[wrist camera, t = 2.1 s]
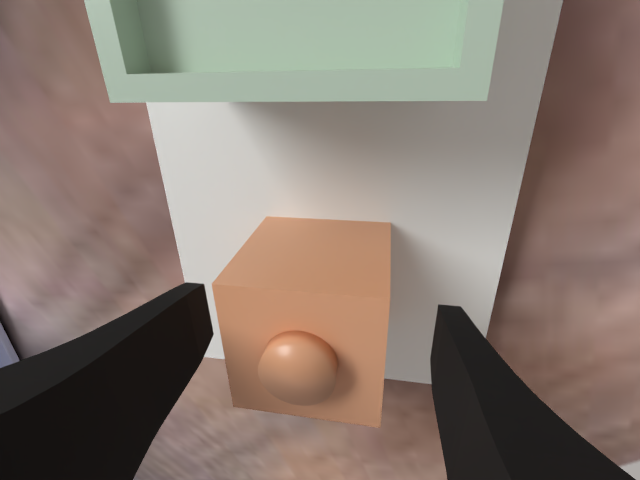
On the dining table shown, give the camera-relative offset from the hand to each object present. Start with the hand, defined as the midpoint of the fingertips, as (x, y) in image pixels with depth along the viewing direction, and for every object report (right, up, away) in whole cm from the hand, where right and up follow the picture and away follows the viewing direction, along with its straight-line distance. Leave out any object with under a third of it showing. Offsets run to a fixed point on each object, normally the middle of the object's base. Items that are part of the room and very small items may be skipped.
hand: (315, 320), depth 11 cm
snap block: (0, +1, +2) cm, 3 cm away
